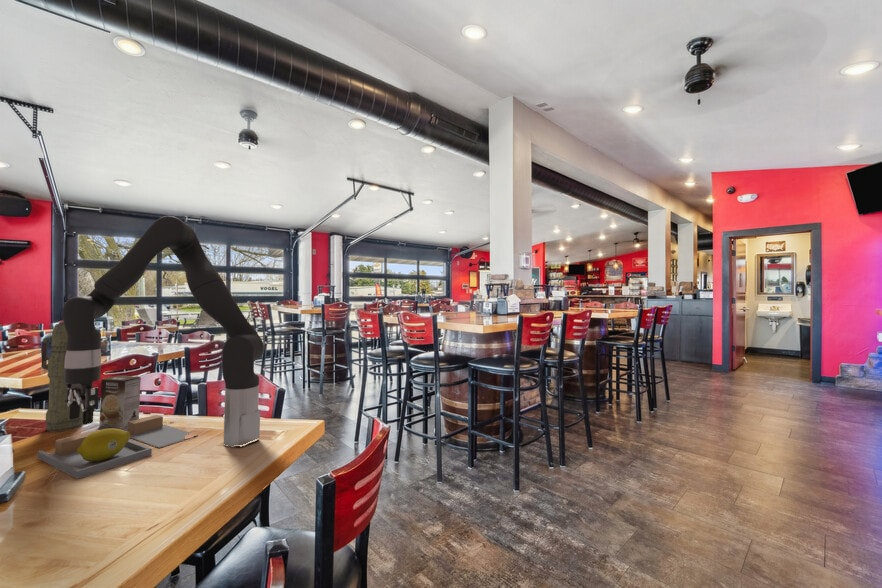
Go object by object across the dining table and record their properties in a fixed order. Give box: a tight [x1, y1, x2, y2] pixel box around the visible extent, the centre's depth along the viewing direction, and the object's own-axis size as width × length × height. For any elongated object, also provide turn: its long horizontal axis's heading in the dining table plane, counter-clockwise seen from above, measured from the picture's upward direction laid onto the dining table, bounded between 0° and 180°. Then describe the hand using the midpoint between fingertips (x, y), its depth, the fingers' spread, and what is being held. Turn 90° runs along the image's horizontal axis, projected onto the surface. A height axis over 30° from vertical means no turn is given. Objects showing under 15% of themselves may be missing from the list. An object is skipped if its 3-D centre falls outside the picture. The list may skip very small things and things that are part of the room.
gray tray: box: [37, 429, 153, 480], centre depth 99 cm, size 24×16×4 cm, turn 64°
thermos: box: [41, 322, 84, 432], centre depth 121 cm, size 9×12×35 cm
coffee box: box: [99, 375, 141, 429], centre depth 124 cm, size 9×6×16 cm
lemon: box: [77, 427, 131, 462], centre depth 97 cm, size 11×8×8 cm
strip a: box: [127, 414, 191, 449], centre depth 115 cm, size 22×11×4 cm, turn 64°
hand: (80, 421), depth 104 cm, fingers open, 8 cm apart
